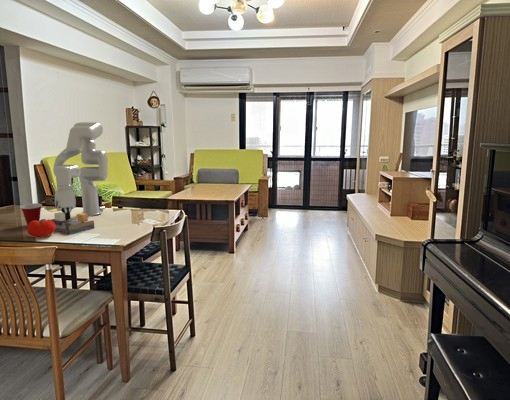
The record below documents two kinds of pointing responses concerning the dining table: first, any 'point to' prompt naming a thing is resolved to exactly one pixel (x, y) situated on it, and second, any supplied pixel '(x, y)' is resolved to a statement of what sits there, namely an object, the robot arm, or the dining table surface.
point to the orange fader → (82, 217)
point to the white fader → (59, 217)
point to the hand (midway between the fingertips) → (67, 219)
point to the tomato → (41, 228)
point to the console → (72, 226)
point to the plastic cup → (31, 212)
